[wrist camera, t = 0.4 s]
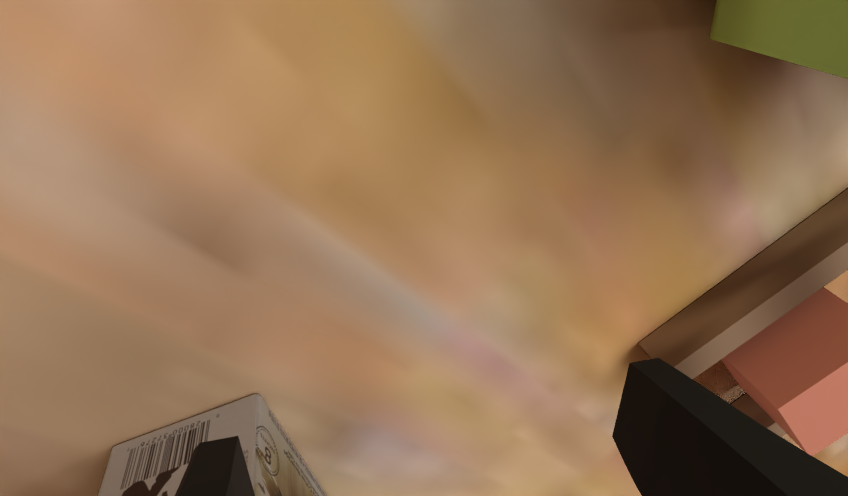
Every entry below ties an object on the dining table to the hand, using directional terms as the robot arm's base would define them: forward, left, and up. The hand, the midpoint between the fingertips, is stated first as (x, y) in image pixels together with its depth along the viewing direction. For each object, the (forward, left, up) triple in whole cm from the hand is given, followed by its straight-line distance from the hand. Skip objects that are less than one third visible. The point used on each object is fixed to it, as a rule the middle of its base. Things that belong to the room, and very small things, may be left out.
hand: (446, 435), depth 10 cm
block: (-13, -17, -10) cm, 23 cm away
